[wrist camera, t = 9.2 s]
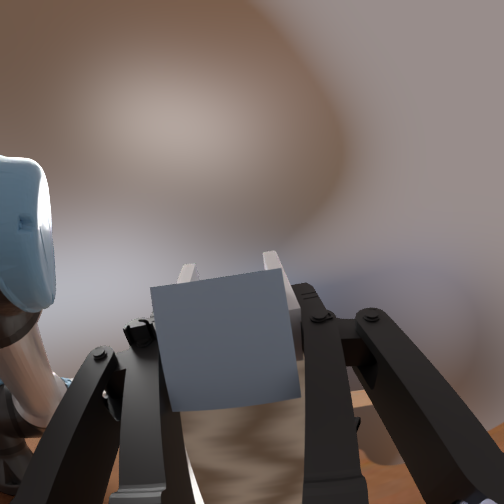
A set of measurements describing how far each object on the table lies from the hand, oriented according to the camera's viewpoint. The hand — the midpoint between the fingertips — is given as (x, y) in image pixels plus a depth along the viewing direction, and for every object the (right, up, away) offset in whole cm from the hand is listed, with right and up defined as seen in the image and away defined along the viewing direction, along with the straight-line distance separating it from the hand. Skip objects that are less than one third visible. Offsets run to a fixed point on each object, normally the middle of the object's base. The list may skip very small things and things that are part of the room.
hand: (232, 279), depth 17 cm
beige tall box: (+5, -35, +3) cm, 36 cm away
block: (+1, -5, +3) cm, 6 cm away
